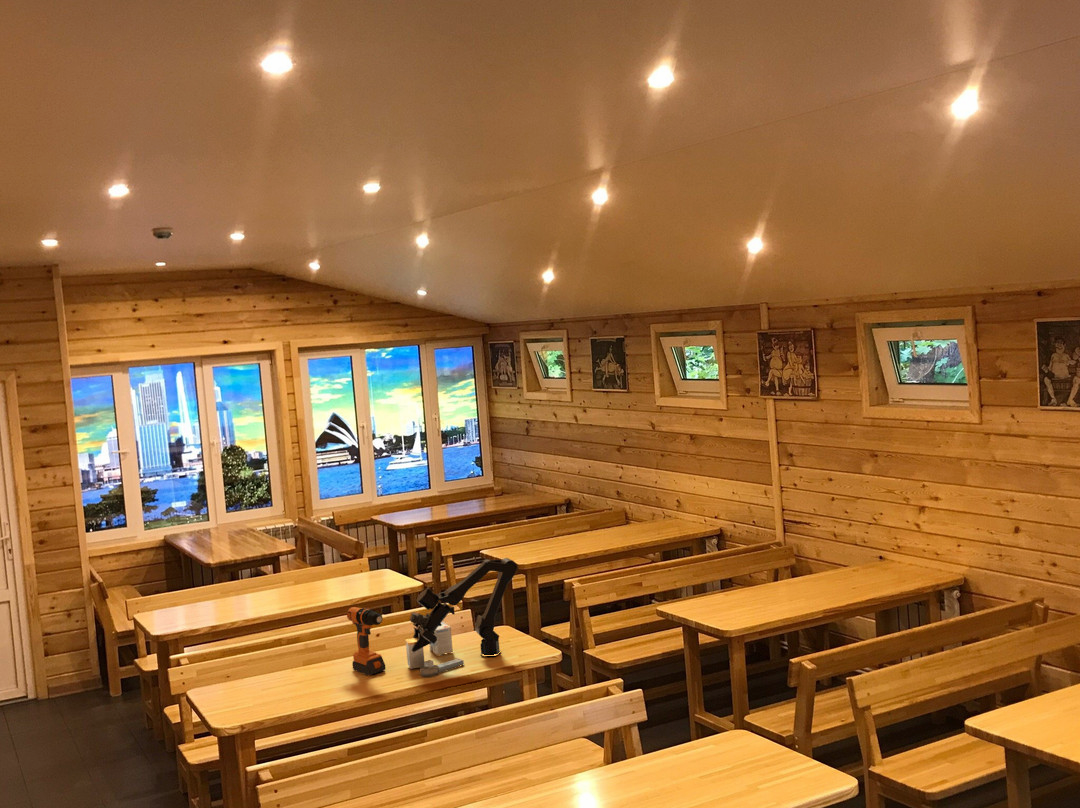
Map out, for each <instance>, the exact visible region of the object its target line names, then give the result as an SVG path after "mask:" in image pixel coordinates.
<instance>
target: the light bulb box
mask: <svg viewBox="0 0 1080 808" xmlns="http://www.w3.org/2000/svg"><path fill="white" fill-rule="evenodd" d="M441 624H442V625H441V626H438V627H437V629H436V630H435V631H434V632H435V634H434V635H435V636H436V637H437V641H436V642H435V643H434V644H433V643H432V642H431V644H428V645H429V651H431V652H432V651H433V652H434V653H433V652H432V653H433V654H435V655H436V654H437V655H441V654H445V653H449V652H453V653H454V650H453V639H452V637H453V636H452V627H451V626H450V625H448V624H447V623H446V622H444V621H442V622H441ZM437 655H436V656H437ZM441 656H442V655H441Z"/></svg>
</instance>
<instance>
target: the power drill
mask: <svg viewBox="0 0 1080 808" xmlns="http://www.w3.org/2000/svg"><path fill="white" fill-rule="evenodd" d="M346 618H347V619H348V620H349V621H350V622H351V623H352V624H353V625H355V627H356V633H357V634H356V641H357V651H354V653H352V656H353V661H352V670H353V671H355V672H358V673H361V674H363V675H366V676H368V675H369V676H371V675H375V674H378V673H381V672H383V671H386V664H385V663H386V662H385V661H384V658H383V656H382V655H381V654H380V653H377V652H376V651H373V650H370V641H369V640H370V639H369V638H370V637H369V636H370V635H371V634H372V633H371V629H372V628H373V626H374V625H375V626H379V625H381V623H382V622H383V615H382V614H381V613H379V612H377V611H375V610H373V609H371V608H368V607H355V606H352V607H350V608H349V609H348V610H347V611H346Z"/></svg>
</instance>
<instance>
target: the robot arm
mask: <svg viewBox="0 0 1080 808" xmlns="http://www.w3.org/2000/svg"><path fill="white" fill-rule="evenodd" d="M489 572H497V579H496V582H495V585H494V587H493V589H492V592H491V595H490V598H489V601H488V603H487V605H486V608H485V610H484V613H483V614H482V615H481V614H480V615H479V614H478V615H477V618H476V621H475V623H474V625H475V627H474V631H475V632H476V633H477V635H479V636H480V638H482V639H481V640H480V641H481V643H480V645H479V646H480V654H481V655H482V654H484V655H494V654H498V653H499V652H500V651H501V649H500V641H499V639H500V635H499V634H498V633H497V632H495V630H494V628H495V623H496V622H495V620H496V615H497V612H498V610H499V607H500V604H501V602H502V599H503V597H504V594H505V592H506V590H507V587H508V584H509V583H510V581H512V579H513V578H514V576H515V574H516V573H517V572H518V564H517V563H516V562H515V561H514V560H512V559H510V558H507V557H505V558H502V559H483V561H482V562H481V563H480V564H479V565H478V566H477V567H475V568H474V569H473V570H472V571H471V572H469V574H468V575H467V576H465V578H463V579H462V580H461V581H459V582H458V583H455V584H453V585H451V586H449V587H448V588H447V589H445V590H444V591H443V592H440V593H437V594H436V593H435V592H434V591H432V590H431V588H429V587H426V589H424V590H423V591H421V592H420V593H419V595H418V596H417V598H416V602H417V603H418V604H419V605H421V606H422V607H423V608H425V609H426V610H427V611H429V610H431V611H430V612H429V613H426V614H425V615H423V614H420V613H417V612H414V611H412V612H411V615H410V616H409V621H410V622H411V624H412V625H413V632H414V633H413V636H412V638H418V637H419V638H418V640H417V642H416V643H415V645H414V647H413V649H412V651H413V652H415V651H417V650H419V649H421V648H422V647H423V648H424V647H426V646H428V645H429V644H431V642H432V643H433V644H434V643H435V642H436V641H437V637H436V636H435V635H434V634H435V632H434V631H435V630H436V629H437V627H438V626H441V625H442V624H441V622H444V620H445V618H446V617H447V616H448V614H450V613H451V614H452V615H455V607H454V606H457V605H459V604H460V602H461V601H462V600H463V598H464V597H465V596H466V594H467V592H469V590H470V589H471V588H472V587H474V585H475V584H477V583H478V582H479V581H480V580H482V578H484V576H485V577H486V575H487V574H489ZM450 605H451V606H450Z"/></svg>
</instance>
